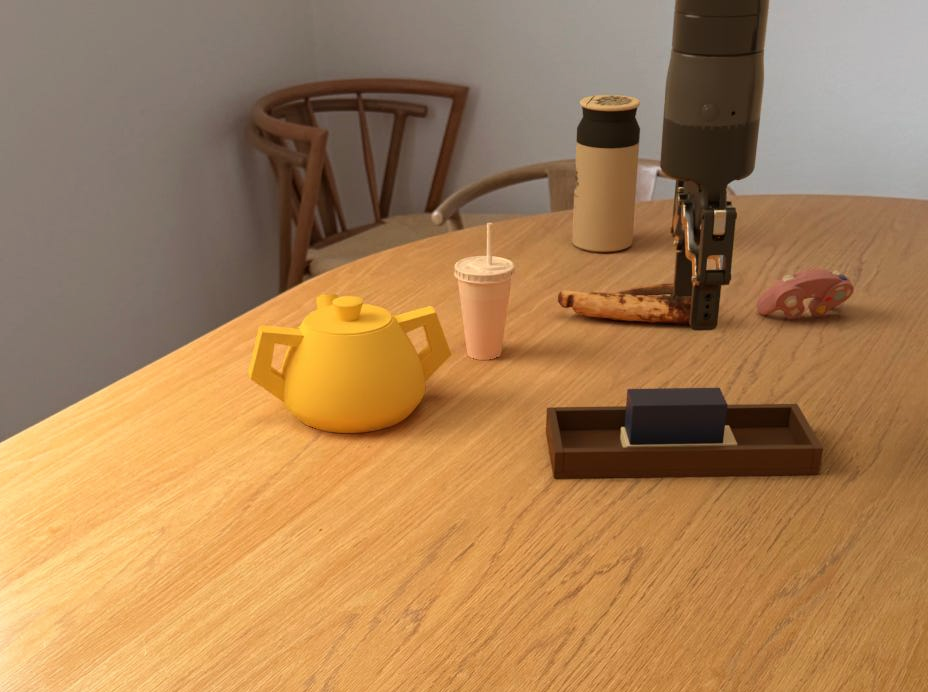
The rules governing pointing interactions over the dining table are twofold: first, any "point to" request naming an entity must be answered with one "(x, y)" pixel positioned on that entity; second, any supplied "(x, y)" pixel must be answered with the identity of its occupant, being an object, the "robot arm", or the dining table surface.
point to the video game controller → (806, 293)
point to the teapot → (350, 364)
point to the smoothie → (484, 300)
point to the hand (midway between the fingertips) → (693, 311)
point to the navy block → (676, 418)
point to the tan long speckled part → (631, 304)
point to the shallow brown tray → (753, 426)
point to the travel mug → (606, 173)
